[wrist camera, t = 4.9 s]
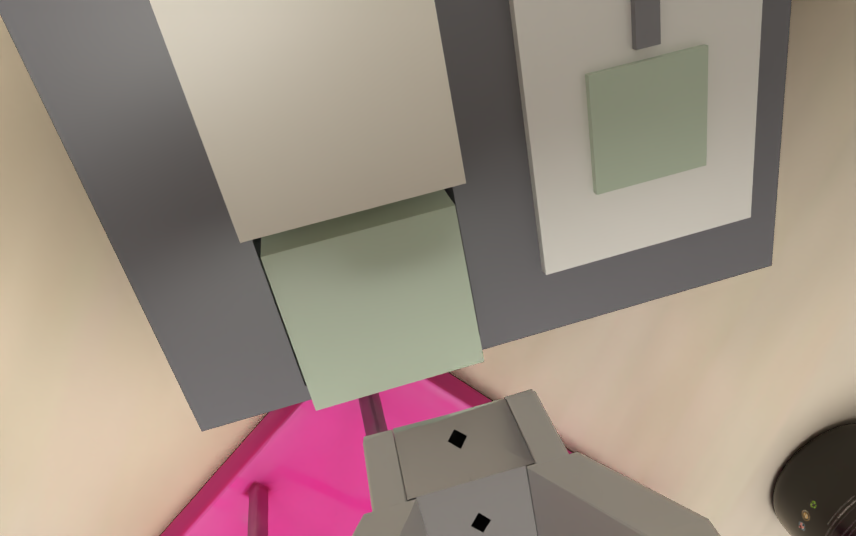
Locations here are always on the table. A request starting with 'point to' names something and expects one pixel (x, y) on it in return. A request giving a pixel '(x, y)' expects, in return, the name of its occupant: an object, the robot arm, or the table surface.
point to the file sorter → (312, 464)
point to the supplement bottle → (820, 486)
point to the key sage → (375, 297)
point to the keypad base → (482, 160)
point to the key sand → (315, 104)
